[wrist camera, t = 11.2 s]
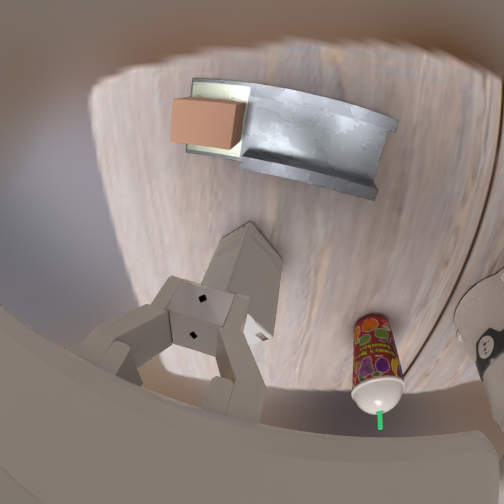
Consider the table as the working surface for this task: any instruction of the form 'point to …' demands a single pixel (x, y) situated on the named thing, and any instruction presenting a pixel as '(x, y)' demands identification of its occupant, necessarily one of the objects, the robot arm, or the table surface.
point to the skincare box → (249, 278)
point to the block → (207, 122)
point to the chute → (302, 136)
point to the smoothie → (376, 367)
